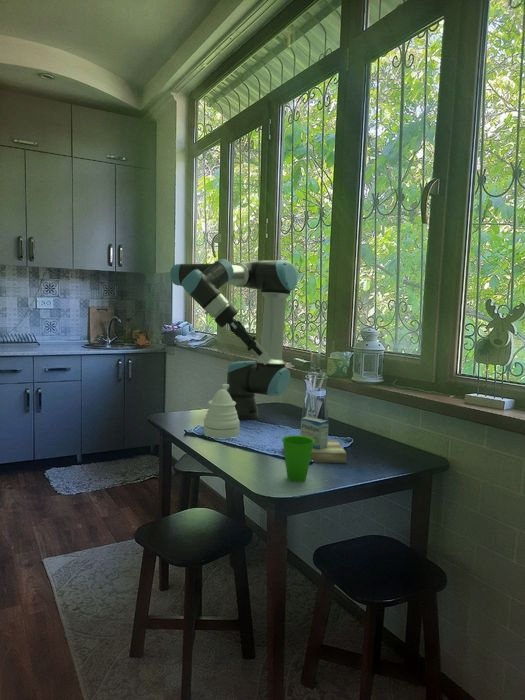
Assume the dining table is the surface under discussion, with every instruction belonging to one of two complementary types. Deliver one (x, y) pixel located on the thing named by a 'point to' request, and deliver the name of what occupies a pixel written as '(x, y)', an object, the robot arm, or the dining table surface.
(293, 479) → the cup
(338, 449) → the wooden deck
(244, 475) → the dining table surface
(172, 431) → the dining table surface
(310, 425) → the medicine box
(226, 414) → the honey pot
